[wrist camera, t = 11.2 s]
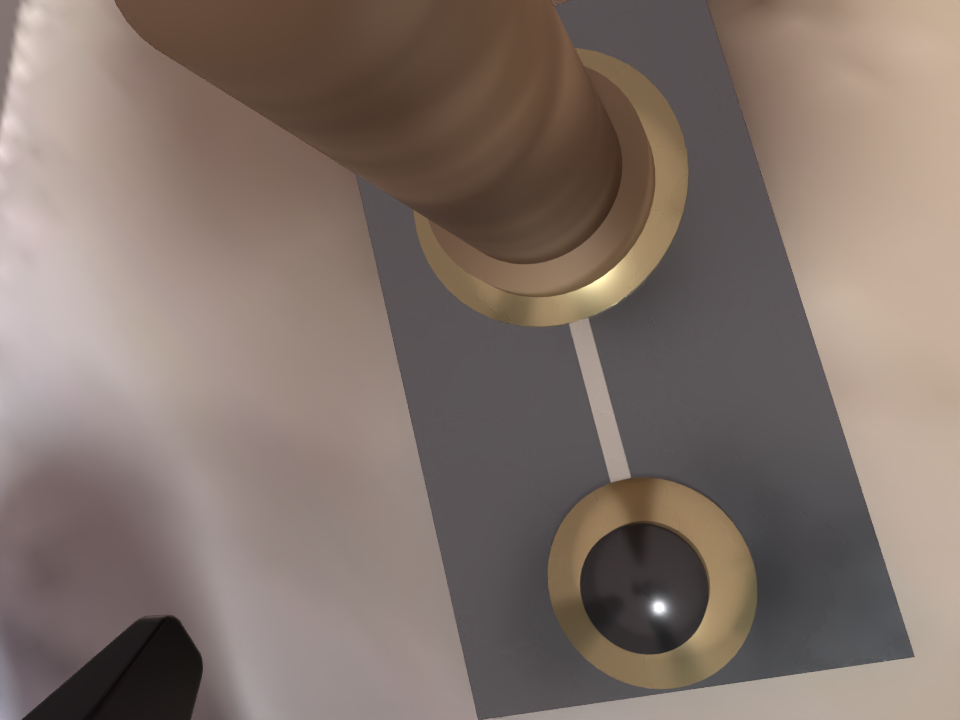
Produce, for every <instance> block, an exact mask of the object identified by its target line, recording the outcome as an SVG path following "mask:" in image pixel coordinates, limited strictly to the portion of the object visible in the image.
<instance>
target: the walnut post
mask: <svg viewBox="0 0 960 720" xmlns="http://www.w3.org/2000/svg"><path fill="white" fill-rule="evenodd" d="M115 2H116V5H117V6H118V8H119V10H120V11H121V13H122V14H123V16H124V17H125V19H126V21H127V22H128V23H129V24H130V25H131V27H132V28H133V29H134V30H135V31H136V32H137V33H138V34H139V35H140V37H142V38H143V39H144V40H145V41H147V42H148V43H149V44H150V45H152V46H153V47H154V48H155V49H157V50H159V51H160V52H162V53H163V54H165V55H167V56H168V57H170V58H171V59H173V60H175V61H176V62H178V63H179V64H181V65H183V66H184V67H186V68H187V69H189V70H191V71H192V72H194V73H195V74H197V75H199V76H200V77H202V78H203V79H205V80H207V81H208V82H210V83H211V84H213V85H215V86H216V87H218V88H219V89H221V90H223V91H224V92H226V93H227V94H229V95H231V96H232V97H234V98H235V99H237V100H239V101H240V102H242V103H243V104H245V105H247V106H248V107H250V108H251V109H253V110H255V111H256V112H258V113H259V114H261V115H263V116H264V117H266V118H267V119H269V120H271V121H272V122H274V123H275V124H277V125H279V126H280V127H282V128H283V129H285V130H287V131H288V132H290V133H291V134H293V135H295V136H296V137H298V138H299V139H301V140H303V141H304V142H306V143H307V144H309V145H311V146H312V147H314V148H315V149H317V150H319V151H320V152H322V153H323V154H325V155H327V156H328V157H330V158H331V159H333V160H335V161H336V162H338V163H339V164H341V165H343V166H344V167H346V168H347V169H349V170H351V171H352V172H354V173H355V174H357V175H359V176H360V177H362V178H363V179H365V180H367V181H368V182H370V183H371V184H373V185H375V186H376V187H378V188H379V189H381V190H383V191H384V192H386V193H387V194H389V195H391V196H392V197H394V198H395V199H397V200H399V201H400V202H402V203H403V204H405V205H407V206H408V207H410V208H411V209H413V210H415V211H416V212H418V213H419V214H421V215H423V216H424V217H426V218H427V219H428V221H429V224H430V226H431V229H432V231H433V233H434V235H435V237H436V239H437V241H438V243H439V244H440V246H441V247H442V248H443V250H444V251H445V253H446V254H447V255H448V256H449V257H450V258H451V259H452V260H453V261H454V262H455V263H456V264H457V265H458V266H459V267H461V268H462V269H463V270H464V271H466V272H467V273H469V274H470V275H472V276H474V277H476V278H477V279H479V280H481V281H483V282H485V283H487V284H489V285H491V286H493V287H494V288H497V289H499V290H502V291H504V292H507V293H511V294H515V295H519V296H526V297H551V296H557V295H563V294H566V293H569V292H573V291H576V290H578V289H581V288H583V287H585V286H587V285H590V284H591V283H593V282H595V281H596V280H598V279H600V278H601V277H603V276H604V275H605V274H607V273H608V272H609V271H610V270H612V269H613V268H614V267H615V266H616V265H617V264H618V263H619V262H620V261H621V260H622V259H623V258H624V257H625V256H626V255H627V254H628V252H629V251H630V250H631V248H632V247H633V246H634V245H635V243H636V241H637V240H638V238H639V236H640V235H641V233H642V231H643V229H644V227H645V224H646V222H647V220H648V217H649V214H650V211H651V207H652V204H653V199H654V192H655V165H654V157H653V154H652V150H651V146H650V143H649V140H648V138H647V135H646V133H645V130H644V128H643V125H642V123H641V121H640V118H639V116H638V114H637V112H636V110H635V108H634V107H633V105H632V104H631V102H630V101H629V99H628V98H627V97H626V96H625V94H624V93H623V92H622V91H621V90H620V89H619V88H618V87H617V86H616V85H615V84H614V83H613V82H611V81H610V80H609V79H608V78H606V77H605V76H603V75H601V74H600V73H598V72H597V71H595V70H592V69H590V68H588V67H585V66H583V64H582V62H581V60H580V58H579V56H578V54H577V52H576V50H575V48H574V46H573V44H572V42H571V40H570V38H569V35H568V33H567V31H566V29H565V27H564V25H563V23H562V21H561V19H560V17H559V15H558V13H557V11H556V9H555V7H554V5H553V3H552V1H551V0H115Z"/></svg>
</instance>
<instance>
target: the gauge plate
mask: <svg viewBox="0 0 960 720" xmlns="http://www.w3.org/2000/svg"><path fill="white" fill-rule="evenodd" d="M555 9H556V11H557V13H558V15H559V17H560V19H561V21H562V23H563V25H564V27H565V29H566V31H567V33H568V35H569V38H570V40H571V42H572V44H573V46H574V48H575V50H576V52H577V54H578V56H579V58H580V60H581V62H582V64H583V66H585V67H588V68H590V69H592V70H595V71H597V72H598V73H600V74H601V75H603V76H605V77H606V78H608V79H609V80H610V81H611V82H613V83H614V84H615V85H616V86H617V87H618V88H619V89H620V90H621V91H622V92H623V93H624V94H625V96H626V97H627V98H628V99H629V101H630V102H631V104H632V105H633V107H634V108H635V110H636V112H637V114H638V116H639V118H640V121H641V123H642V125H643V128H644V130H645V133H646V135H647V138H648V140H649V143H650V146H651V150H652V154H653V157H654V165H655V192H654V199H653V204H652V207H651V211H650V214H649V217H648V220H647V222H646V224H645V227H644V229H643V231H642V233H641V235H640V236H639V238H638V240H637V241H636V243H635V245H634V246H633V247H632V248H631V250H630V251H629V252H628V254H627V255H626V256H625V257H624V258H623V259H622V260H621V261H620V262H619V263H618V264H617V265H616V266H615V267H614V268H613V269H612V270H610V271H609V272H608V273H607V274H605V275H604V276H603V277H601V278H600V279H598V280H596V281H595V282H593V283H591V284H590V285H587V286H585V287H583V288H581V289H578V290H576V291H573V292H569V293H566V294H563V295H557V296H551V297H526V296H519V295H515V294H511V293H507V292H504V291H502V290H499V289H497V288H494V287H493V286H491V285H489V284H487V283H485V282H483V281H481V280H479V279H477V278H476V277H474V276H472V275H470V274H469V273H467V272H466V271H464V270H463V269H462V268H461V267H459V266H458V265H457V264H456V263H455V262H454V261H453V260H452V259H451V258H450V257H449V256H448V255H447V254H446V253H445V251H444V250H443V248H442V247H441V246H440V244H439V243H438V241H437V239H436V237H435V235H434V233H433V231H432V229H431V226H430V224H429V221H428V219H427V218H426V217H424V216H423V215H421V214H419V213H418V212H416V211H415V210H413V209H411V208H410V207H408V206H407V205H405V204H403V203H402V202H400V201H399V200H397V199H395V198H394V197H392V196H391V195H389V194H387V193H386V192H384V191H383V190H381V189H379V188H378V187H376V186H375V185H373V184H371V183H370V182H368V181H367V180H365V179H363V178H362V177H360V176H359V175H357V174H356V175H357V180H358V184H359V189H360V193H361V197H362V202H363V206H364V211H365V215H366V220H367V224H368V229H369V233H370V238H371V242H372V247H373V251H374V256H375V260H376V265H377V269H378V274H379V278H380V283H381V287H382V291H383V296H384V300H385V305H386V309H387V314H388V318H389V323H390V327H391V332H392V336H393V341H394V345H395V350H396V354H397V359H398V363H399V368H400V372H401V377H402V381H403V386H404V390H405V394H406V399H407V403H408V408H409V412H410V417H411V421H412V426H413V430H414V435H415V439H416V444H417V448H418V453H419V457H420V462H421V466H422V471H423V475H424V480H425V484H426V489H427V493H428V497H429V502H430V506H431V511H432V515H433V520H434V524H435V529H436V533H437V538H438V542H439V547H440V551H441V556H442V560H443V565H444V569H445V574H446V578H447V583H448V587H449V591H450V596H451V600H452V605H453V609H454V614H455V618H456V623H457V627H458V632H459V636H460V641H461V645H462V650H463V654H464V659H465V663H466V668H467V672H468V677H469V681H470V686H471V690H472V694H473V699H474V703H475V708H476V712H477V717H478V720H482V719H489V718H496V717H503V716H510V715H517V714H524V713H531V712H538V711H544V710H551V709H558V708H565V707H572V706H579V705H586V704H593V703H600V702H607V701H614V700H621V699H627V698H634V697H641V696H648V695H655V694H662V693H669V692H676V691H683V690H690V689H697V688H704V687H710V686H717V685H724V684H731V683H738V682H745V681H752V680H759V679H766V678H773V677H780V676H787V675H793V674H800V673H807V672H814V671H821V670H828V669H835V668H842V667H849V666H856V665H863V664H870V663H876V662H883V661H890V660H897V659H904V658H911V657H915V656H914V653H913V650H912V647H911V644H910V640H909V637H908V634H907V631H906V628H905V625H904V622H903V618H902V615H901V612H900V609H899V606H898V603H897V600H896V596H895V593H894V590H893V587H892V584H891V581H890V578H889V574H888V571H887V568H886V565H885V562H884V559H883V556H882V552H881V549H880V546H879V543H878V540H877V537H876V534H875V530H874V527H873V524H872V521H871V518H870V515H869V512H868V508H867V505H866V502H865V499H864V496H863V493H862V490H861V486H860V483H859V480H858V477H857V474H856V471H855V468H854V464H853V461H852V458H851V455H850V452H849V449H848V445H847V442H846V439H845V436H844V433H843V430H842V427H841V423H840V420H839V417H838V414H837V411H836V408H835V405H834V401H833V398H832V395H831V392H830V389H829V386H828V383H827V379H826V376H825V373H824V370H823V367H822V364H821V361H820V357H819V354H818V351H817V348H816V345H815V342H814V339H813V335H812V332H811V329H810V326H809V323H808V320H807V317H806V313H805V310H804V307H803V304H802V301H801V298H800V295H799V291H798V288H797V285H796V282H795V279H794V276H793V273H792V269H791V266H790V263H789V260H788V257H787V254H786V251H785V247H784V244H783V241H782V238H781V235H780V232H779V229H778V225H777V222H776V219H775V216H774V213H773V210H772V207H771V203H770V200H769V197H768V194H767V191H766V188H765V184H764V181H763V178H762V175H761V172H760V169H759V166H758V162H757V159H756V156H755V153H754V150H753V147H752V144H751V140H750V137H749V134H748V131H747V128H746V125H745V122H744V118H743V115H742V112H741V109H740V106H739V103H738V100H737V96H736V93H735V90H734V87H733V84H732V81H731V78H730V74H729V71H728V68H727V65H726V62H725V59H724V56H723V52H722V49H721V46H720V43H719V40H718V37H717V34H716V30H715V27H714V24H713V21H712V18H711V15H710V12H709V8H708V5H707V2H706V0H569V1H567V2H565V3H563V4H560V5H558V6H556V7H555Z"/></svg>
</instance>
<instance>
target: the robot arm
mask: <svg viewBox="0 0 960 720" xmlns="http://www.w3.org/2000/svg"><path fill="white" fill-rule="evenodd" d="M202 671H203V663H202V657H201V654H200V652H199V651H198V649H197V647H196V646H195V644H194V643H193V641H192V639H191V638H190V636H189V635H188V633H187V631H186V630H185V628H184V626H183V625H182V623H181V622H180V620H179V619H178V618H176V617H175V616H172V615H153V616H145V617H142V618H140V619H138V620H137V621H136V622H134V623H133V624H132V625H131V626H130V627H128V628H127V629H126V630H125V631H124V632H123V633H121V634H120V635H119V636H118V637H117V638H116V639H115V640H113V641H112V642H111V643H110V644H109V645H108V646H106V647H105V648H104V649H103V650H102V651H101V652H99V653H98V654H97V655H96V656H95V657H94V658H93V659H91V660H90V661H89V662H88V663H87V664H86V665H84V666H83V667H82V668H81V669H80V670H79V671H77V672H76V673H75V674H74V675H73V676H72V677H70V678H69V679H68V680H67V681H66V682H65V683H64V684H62V685H61V686H60V687H59V688H58V689H57V690H55V691H54V692H53V693H52V694H51V695H50V696H48V697H47V698H46V699H45V700H44V701H43V702H41V703H40V704H39V705H38V706H37V707H36V708H35V709H33V710H32V711H31V712H30V713H29V714H28V715H26V716H25V717H24V718H23V719H22V720H191V717H192V713H193V709H194V706H195V702H196V698H197V694H198V690H199V686H200V682H201V678H202Z"/></svg>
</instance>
